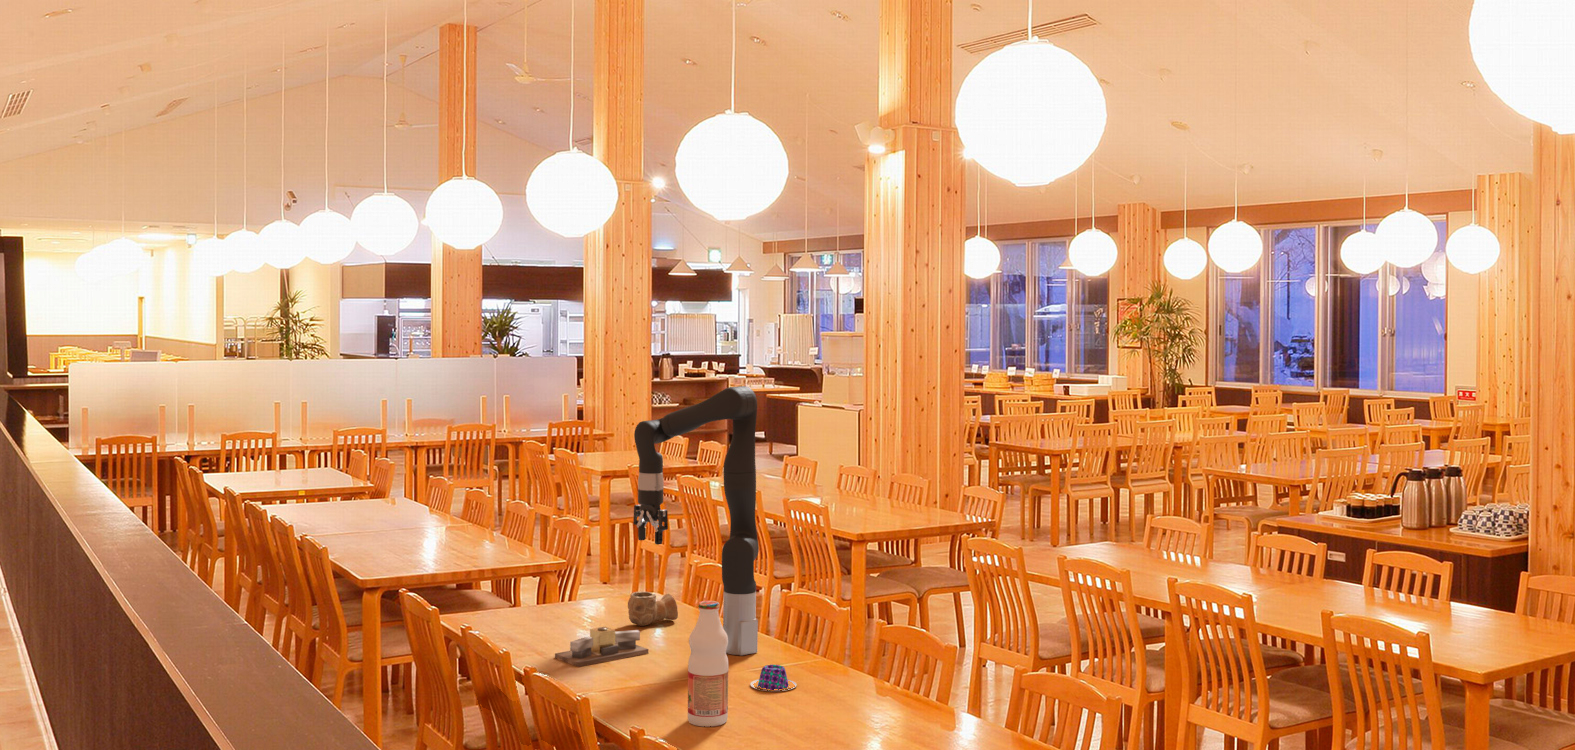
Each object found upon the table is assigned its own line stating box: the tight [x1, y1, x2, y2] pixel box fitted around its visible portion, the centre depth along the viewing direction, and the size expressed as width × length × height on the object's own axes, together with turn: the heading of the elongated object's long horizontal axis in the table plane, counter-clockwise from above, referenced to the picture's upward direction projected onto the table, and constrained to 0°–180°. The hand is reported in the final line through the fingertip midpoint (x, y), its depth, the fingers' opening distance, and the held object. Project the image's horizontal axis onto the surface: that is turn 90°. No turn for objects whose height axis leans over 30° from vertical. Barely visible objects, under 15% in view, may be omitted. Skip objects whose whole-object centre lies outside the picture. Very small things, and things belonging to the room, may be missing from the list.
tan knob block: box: [589, 626, 616, 654], centre depth 355 cm, size 5×5×6 cm
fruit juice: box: [687, 600, 729, 728], centre depth 297 cm, size 9×9×28 cm
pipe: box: [627, 591, 679, 627], centre depth 393 cm, size 9×16×10 cm, turn 132°
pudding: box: [749, 664, 797, 692], centre depth 328 cm, size 12×12×5 cm
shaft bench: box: [554, 629, 649, 668], centre depth 355 cm, size 12×23×6 cm, turn 131°
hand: (650, 542), depth 377 cm, fingers open, 8 cm apart
